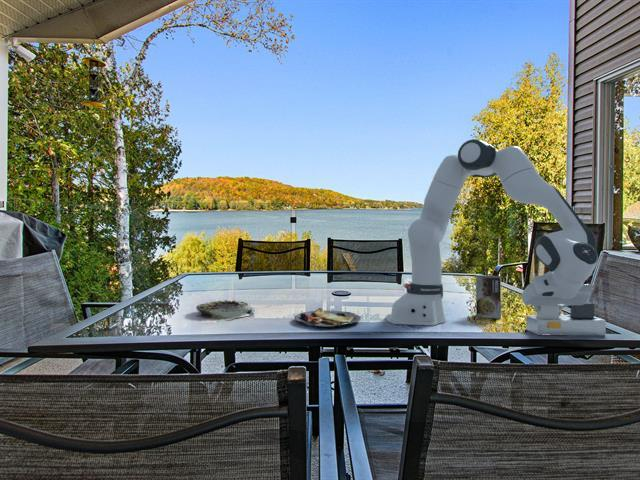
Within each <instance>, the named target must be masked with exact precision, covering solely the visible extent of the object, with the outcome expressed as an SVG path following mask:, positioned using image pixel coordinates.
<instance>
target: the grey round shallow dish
mask: <svg viewBox="0 0 640 480" xmlns="http://www.w3.org/2000/svg"><path fill="white" fill-rule="evenodd" d="M251 306H252V305H251V304H250V303H248V302H245V301H237V300H227V299H226V300H224V301H223V300H218V301H210V302H206V303H205V302H204V303H201V304H198V305H196V306H195V308H196V310H197V311H198V312H199V313H200V316H201V317H203V318H206V319H212V320H211V322H215V321H216V322H220V321H229V320H230V321H232V320H235V319H240V318H243V316H244V318H245V317H249V316H253V315H254V313H253V310H252V309H253V308H254V307H251ZM247 314H248V315H247ZM213 319H214V320H213ZM201 321H205V320H203V319H201V320H200V322H201Z"/></svg>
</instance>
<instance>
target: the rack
mask: <svg viewBox="0 0 640 480" xmlns="http://www.w3.org/2000/svg"><path fill="white" fill-rule="evenodd" d="M525 317H526V318H525V319H526V320H525V322H526V325H525V326H526V327H525V329H526V330H527V331H529V332H530V333H532V334H534V335H536V334H537V335H536V336H538V335H543V334H550V335H567V336H606V329H607V328H606V326H607V325H606V322H607V320H606V319H602V318H601V317H597V316H595V303H593V302H591V301H587V303H586V304H584V305H570V314H564V315H563V314H561V315H559V319H538V318H537V314H535V315H534V314H527V315H526V316H525Z"/></svg>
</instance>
